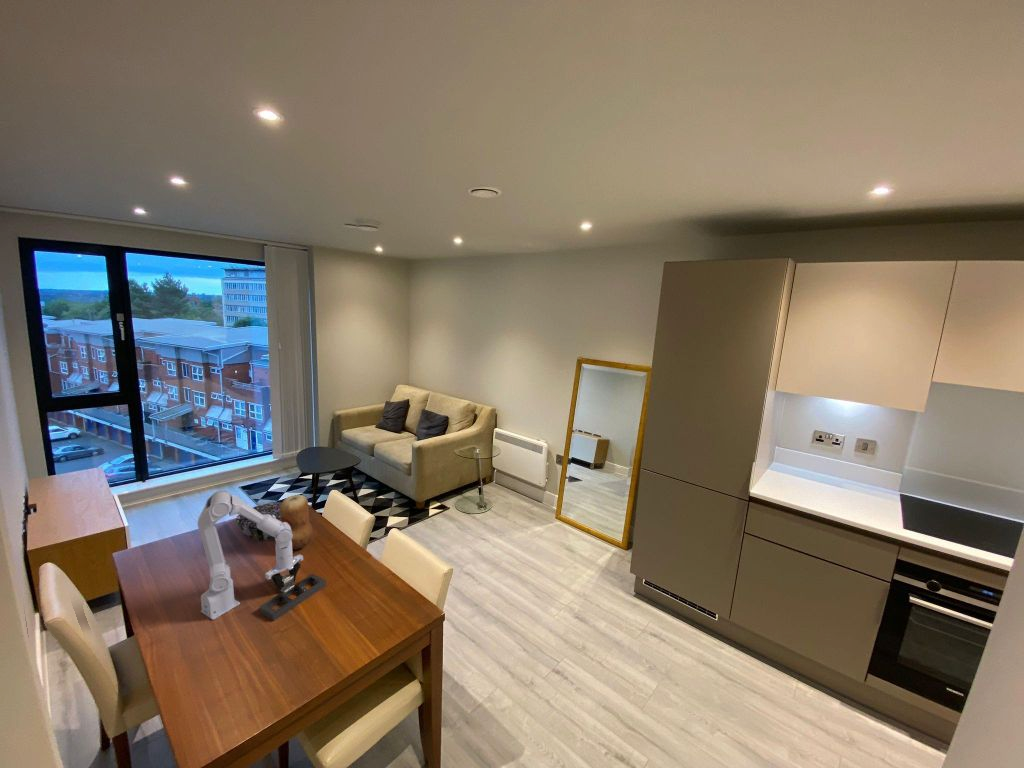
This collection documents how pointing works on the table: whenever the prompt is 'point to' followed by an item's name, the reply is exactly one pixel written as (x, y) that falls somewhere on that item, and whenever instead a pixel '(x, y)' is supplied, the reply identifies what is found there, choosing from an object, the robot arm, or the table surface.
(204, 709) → the table surface
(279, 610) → the rack rail
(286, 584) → the block
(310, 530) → the butternut squash
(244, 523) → the decorative bowl
